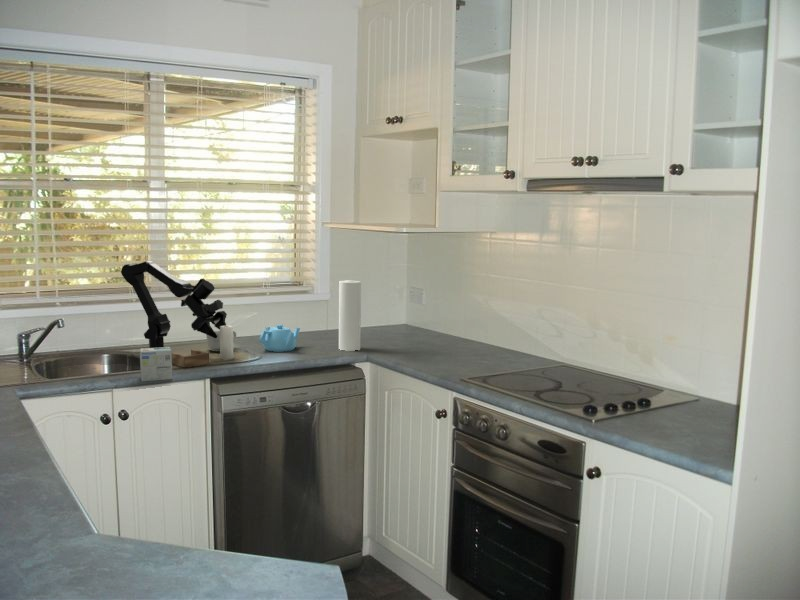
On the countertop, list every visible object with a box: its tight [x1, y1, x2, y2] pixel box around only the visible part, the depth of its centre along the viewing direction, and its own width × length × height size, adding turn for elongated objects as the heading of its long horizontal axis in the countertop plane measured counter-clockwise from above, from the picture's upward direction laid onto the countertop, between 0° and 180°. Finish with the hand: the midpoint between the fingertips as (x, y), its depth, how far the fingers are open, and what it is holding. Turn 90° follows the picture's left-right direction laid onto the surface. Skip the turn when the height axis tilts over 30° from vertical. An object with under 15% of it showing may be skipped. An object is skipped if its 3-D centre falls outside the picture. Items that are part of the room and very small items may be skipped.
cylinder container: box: [338, 279, 362, 352], centre depth 330 cm, size 9×9×30 cm
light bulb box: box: [139, 346, 173, 382], centre depth 271 cm, size 11×7×11 cm, turn 111°
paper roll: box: [219, 325, 234, 361], centre depth 307 cm, size 5×5×13 cm
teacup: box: [205, 330, 237, 352], centre depth 325 cm, size 14×11×8 cm
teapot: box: [258, 324, 301, 353], centre depth 328 cm, size 15×15×11 cm
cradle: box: [171, 348, 210, 368], centre depth 297 cm, size 12×10×4 cm
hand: (222, 335), depth 307 cm, fingers open, 9 cm apart
